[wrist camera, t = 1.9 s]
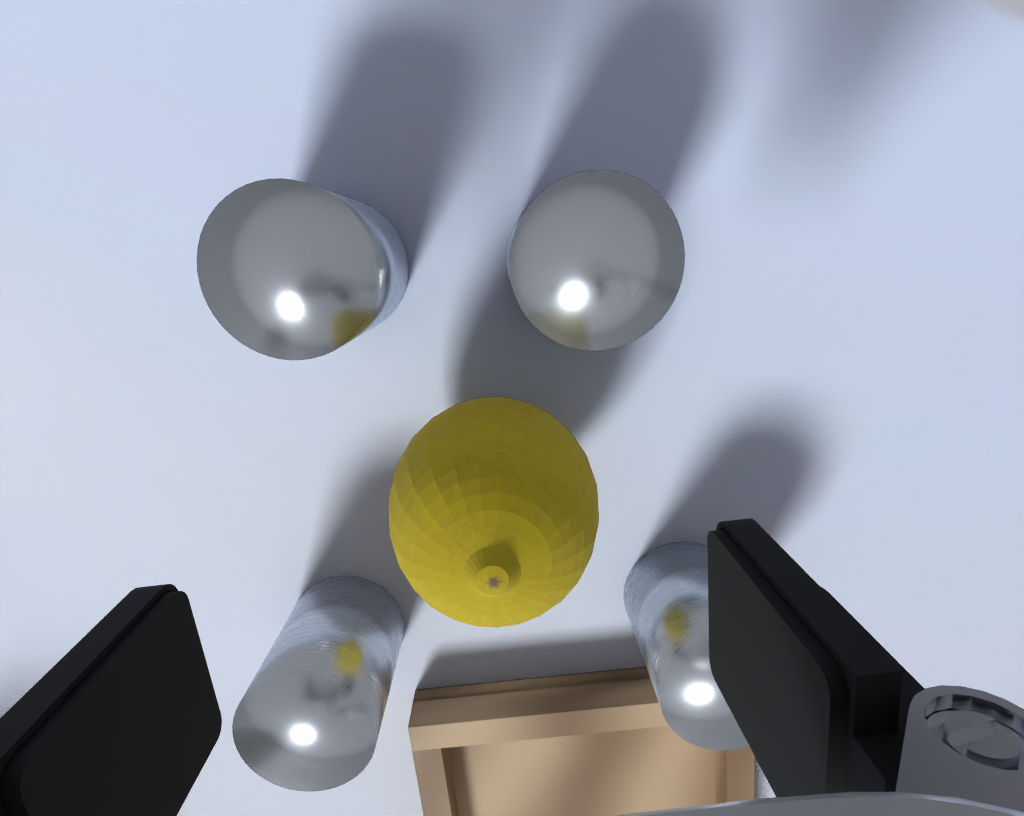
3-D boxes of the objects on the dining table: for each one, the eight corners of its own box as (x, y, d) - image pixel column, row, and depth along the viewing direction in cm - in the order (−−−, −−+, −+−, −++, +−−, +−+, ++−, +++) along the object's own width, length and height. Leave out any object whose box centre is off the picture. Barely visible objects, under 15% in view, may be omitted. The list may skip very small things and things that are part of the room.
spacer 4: (733, 536, 21) (804, 622, 16) (734, 634, 22) (800, 743, 17) (620, 547, 21) (657, 637, 16) (626, 645, 22) (662, 757, 17)
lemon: (436, 543, 21) (397, 718, 13) (393, 392, 19) (321, 487, 11) (591, 509, 20) (648, 668, 13) (560, 355, 19) (601, 426, 11)
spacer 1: (398, 191, 18) (359, 169, 13) (417, 325, 19) (388, 350, 14) (265, 205, 18) (177, 188, 13) (291, 338, 19) (219, 368, 14)
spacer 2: (395, 570, 21) (363, 667, 16) (411, 666, 22) (386, 784, 17) (283, 582, 21) (217, 681, 16) (304, 677, 22) (249, 797, 17)
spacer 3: (632, 184, 18) (682, 160, 13) (638, 317, 19) (687, 341, 14) (500, 198, 18) (500, 179, 13) (513, 330, 19) (518, 358, 14)
